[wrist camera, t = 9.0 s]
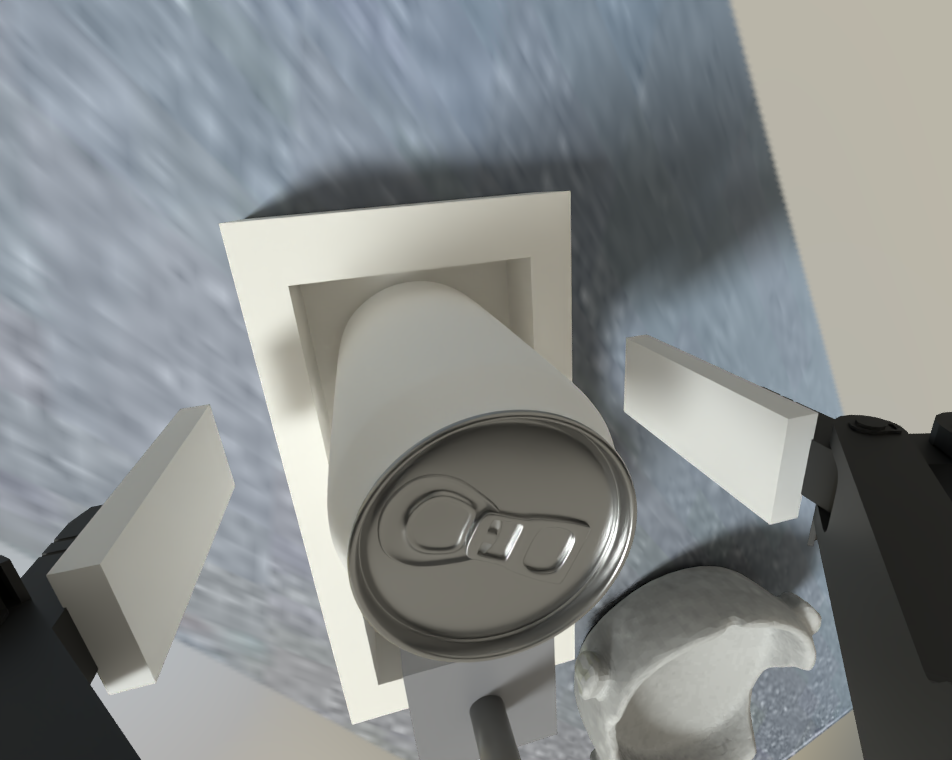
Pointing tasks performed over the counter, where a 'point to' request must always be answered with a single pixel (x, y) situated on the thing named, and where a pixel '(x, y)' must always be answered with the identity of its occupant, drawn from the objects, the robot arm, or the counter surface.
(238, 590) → the counter surface
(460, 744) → the seated block
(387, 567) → the can
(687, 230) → the counter surface
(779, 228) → the counter surface
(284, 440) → the white flat tray
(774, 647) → the dish
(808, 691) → the counter surface
